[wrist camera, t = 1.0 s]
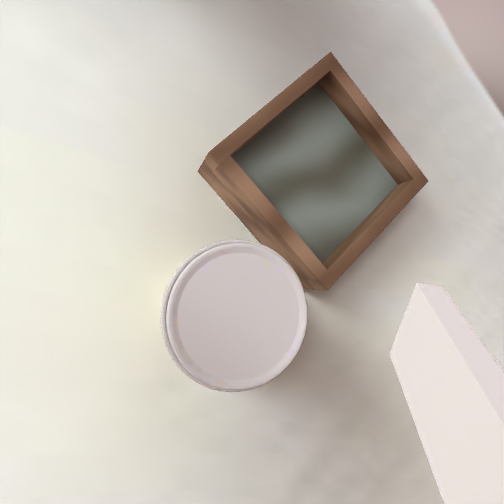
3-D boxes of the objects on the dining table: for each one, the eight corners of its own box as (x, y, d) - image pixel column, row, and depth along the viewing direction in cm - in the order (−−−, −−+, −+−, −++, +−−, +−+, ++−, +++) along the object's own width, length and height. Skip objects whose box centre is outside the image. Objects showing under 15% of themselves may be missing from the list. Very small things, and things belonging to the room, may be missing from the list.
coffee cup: (256, 254, 36) (313, 242, 24) (253, 354, 35) (311, 391, 24) (155, 249, 33) (165, 233, 22) (150, 357, 32) (158, 401, 21)
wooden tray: (197, 171, 35) (208, 152, 29) (304, 82, 38) (330, 51, 33) (299, 288, 37) (327, 290, 32) (390, 193, 41) (428, 181, 35)
